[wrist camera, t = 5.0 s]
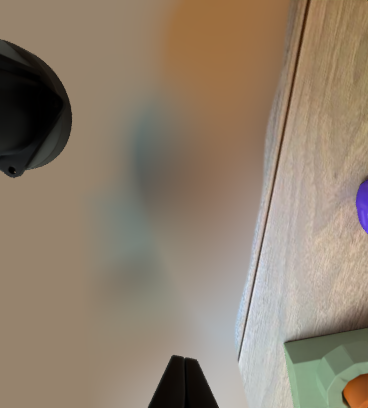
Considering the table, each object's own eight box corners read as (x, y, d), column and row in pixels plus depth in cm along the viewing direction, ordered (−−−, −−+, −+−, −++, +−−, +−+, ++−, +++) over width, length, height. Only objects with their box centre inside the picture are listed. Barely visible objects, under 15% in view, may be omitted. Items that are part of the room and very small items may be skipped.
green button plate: (393, 428, 26) (430, 479, 22) (299, 442, 26) (318, 495, 23) (392, 311, 22) (437, 349, 18) (281, 332, 22) (300, 373, 18)
